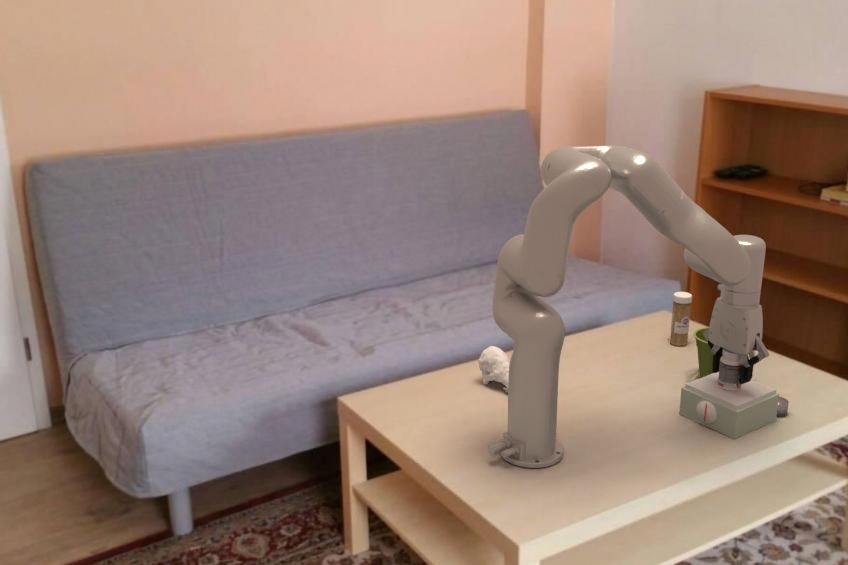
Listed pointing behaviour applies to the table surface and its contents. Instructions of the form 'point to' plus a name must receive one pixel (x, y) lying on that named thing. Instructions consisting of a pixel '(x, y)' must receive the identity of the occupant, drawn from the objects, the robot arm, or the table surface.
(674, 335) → the sprinkles bottle
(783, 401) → the spacer
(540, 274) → the robot arm
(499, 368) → the white lumpy rounded piece
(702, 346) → the plant pot
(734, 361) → the pill bottle
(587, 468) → the table surface
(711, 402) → the scale
